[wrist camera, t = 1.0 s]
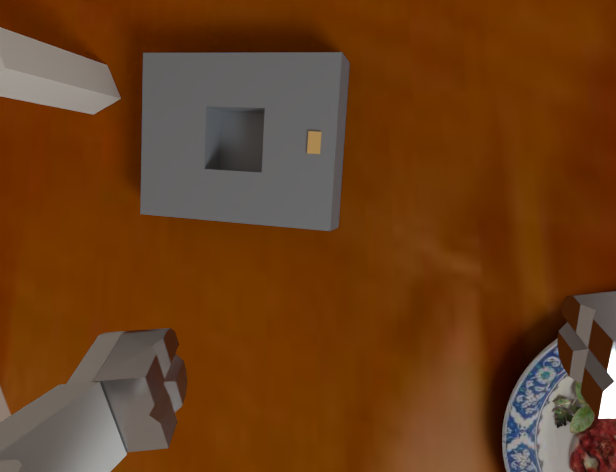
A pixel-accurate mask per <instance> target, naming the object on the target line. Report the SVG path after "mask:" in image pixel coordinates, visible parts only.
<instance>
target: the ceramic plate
mask: <svg viewBox="0 0 616 472" xmlns="http://www.w3.org/2000/svg"><path fill="white" fill-rule="evenodd" d="M557 341H558V338H557V339H556V340H554V341H553V342H552V343H551V344H549V345H548V346H547V347H545V348H544V349H543V350H542V351H541V352H540V353H539V354H538V355H537V356H536V357H535V358H534V359H533V361H532V362H531V363H530V364H529V365H528V366H527V368H526V369H525V371H524V372H523V373H522V375H521V376H520V378H519V380H518V381H517V383H516V385H515V387H514V389H513V391H512V394H511V396H510V399H509V401H508V404H507V408H506V411H505V416H504V422H503V429H502V448H503V458H504V463H505V468H506V472H616V418H606V419H598V418H597V416H596V415H595V413H594V412H593V411H592V409H591V408H590V406H589V405H588V403H587V402H586V400H585V399H584V398H583V396H582V395H581V393H580V392H581V386H582V384H581V383H580V382H578V381H576V380H574V379H572V378H571V377H569V376H568V374H567V372H566V371H565V369H564V368H563V366H562V363H561V361H560V358H559V353H558V347H557Z"/></svg>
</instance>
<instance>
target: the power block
mask: <svg viewBox="0 0 616 472" xmlns="http://www.w3.org/2000/svg"><path fill="white" fill-rule="evenodd" d="M349 66H350V63H349V61H348V60H347V58H346V57H345V56H344V54H343V53H342V52H251V53H143V88H142V149H141V210H140V214H145V215H156V216H167V217H178V218H190V219H201V220H212V221H223V222H234V223H245V224H256V225H268V226H279V227H290V228H301V229H312V230H323V231H331V230H334V229H336V228H338V226H339V212H340V197H341V183H342V168H343V153H344V139H345V124H346V110H347V95H348V80H349Z"/></svg>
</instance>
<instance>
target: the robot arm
mask: <svg viewBox="0 0 616 472" xmlns="http://www.w3.org/2000/svg"><path fill="white" fill-rule="evenodd" d="M561 314H562V315H563V317H564V318H565V319H566V320H567V323H566V324H565V325H564V326H563V327H562V328H561V329H560V330H559V331H558V341H557V347H558V353H559V358H560V361H561V363H562V366H563V368H564V369H565V371H566V372H567V374H568V376H569V377H571V378H572V379H574V380H576V381H578V382H580V383H581V384H582V386H581V392H580V393H581V395H582V396H583V398H584V399H585V400H586V402H587V403H588V405H589V406H590V408H591V409H592V411H593V412H594V413H595V415H596V416H597V418H598V419H606V418H616V291H612V292H602V293H592V294H581V295H571V296H566V297H565V299H564V301H563V303H562V309H561ZM178 345H179V343H178V340H177V337H176V333H175V331H173V330H172V329H171V328H167V329H150V330H134V331H126V332H125V331H119V332H108V333H103V334H100V335H99V336H98V337H97V338H96V340H95V341H94V343H93V344H92V346H91V347H90V349H89V350H88V352H87V354H86V355H85V357H84V358H83V360H82V361H81V363H80V364H79V366H78V367H77V369H76V370H75V372H74V373H73V375H72V376H71V378H70V379H69V381H68V382H67V384H63V385H58V386H56V387H55V388H53V389H52V390H50V391H49V392H47V393H45V394H44V395H42V396H41V397H39V398H38V399H36V400H35V401H33V402H31V403H30V404H28V405H27V406H25V407H24V408H22V409H21V410H19V411H17V412H16V413H14V414H13V415H11V416H10V417H8V418H7V419H5V420H4V421H2V422H0V472H111V471H112V470H113V468H114V467H115V466H116V465H117V464H118V463H119V462H120V461H121V460H122V459H123V458H124V457H125V456H126V455H127V453H126V452H133V451H143V450H154V449H164V448H169V445H170V442H171V439H172V436H173V433H174V430H175V427H176V424H177V419H176V416H175V413H174V412H176V411H177V410H178V409H179V408H180V407H181V406H182V405H183V403H184V399H185V396H186V389H187V375H186V368H185V364H184V361H183V360H182V359H181V358H179V357H178V356H177V355H176V354H175V353H176V350H177V348H178Z"/></svg>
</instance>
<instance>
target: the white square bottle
mask: <svg viewBox="0 0 616 472" xmlns="http://www.w3.org/2000/svg"><path fill="white" fill-rule="evenodd" d="M0 96H2V97H7V98H12V99H17V100H22V101H27V102H32V103H37V104H42V105H48V106H53V107H58V108H63V109H68V110H73V111H78V112H83V113H88V114H93V115H94V114H95V113H97V112H99V111H101V110H102V109H104V108H106V107H107V106H109V105H111V104H113V103H114V102H116V101H118V100H120V99H121V97H120V94H119V92H118V90H117V87H116V85H115V82H114V80H113V78H112V75H111V73H110V71H109V68H108V66H107V65H105V64H103V63H100V62H97V61H94V60H91V59H88V58H86V57H83V56H80V55H77V54H74V53H71V52H69V51H66V50H63V49H60V48H57V47H55V46H52V45H49V44H46V43H43V42H40V41H38V40H35V39H32V38H29V37H26V36H23V35H21V34H18V33H15V32H12V31H9V30H7V29H4V28H1V27H0Z"/></svg>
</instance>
